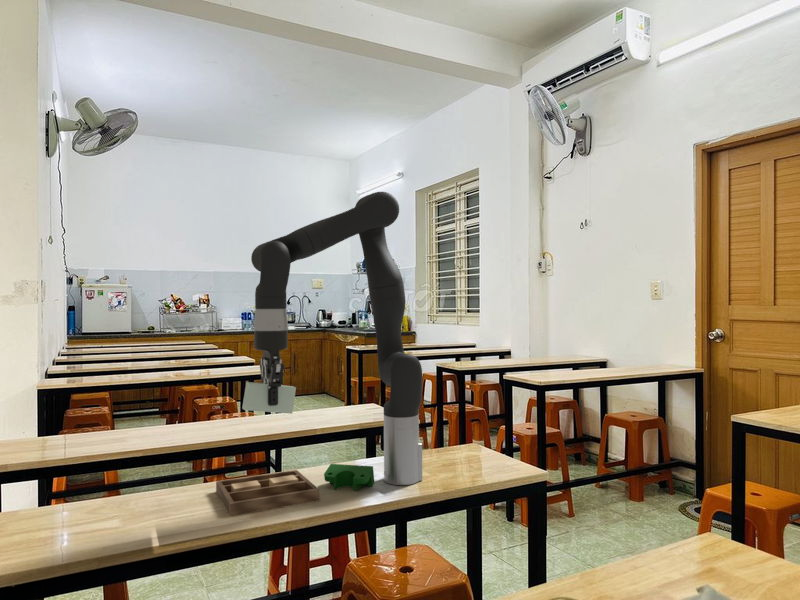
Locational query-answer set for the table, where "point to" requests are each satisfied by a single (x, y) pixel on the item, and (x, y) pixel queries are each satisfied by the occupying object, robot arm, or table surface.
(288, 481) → the offcut
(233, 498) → the brown wooden compartment tray
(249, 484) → the offcut
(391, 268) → the robot arm
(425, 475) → the table surface
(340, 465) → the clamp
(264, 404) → the sheet
